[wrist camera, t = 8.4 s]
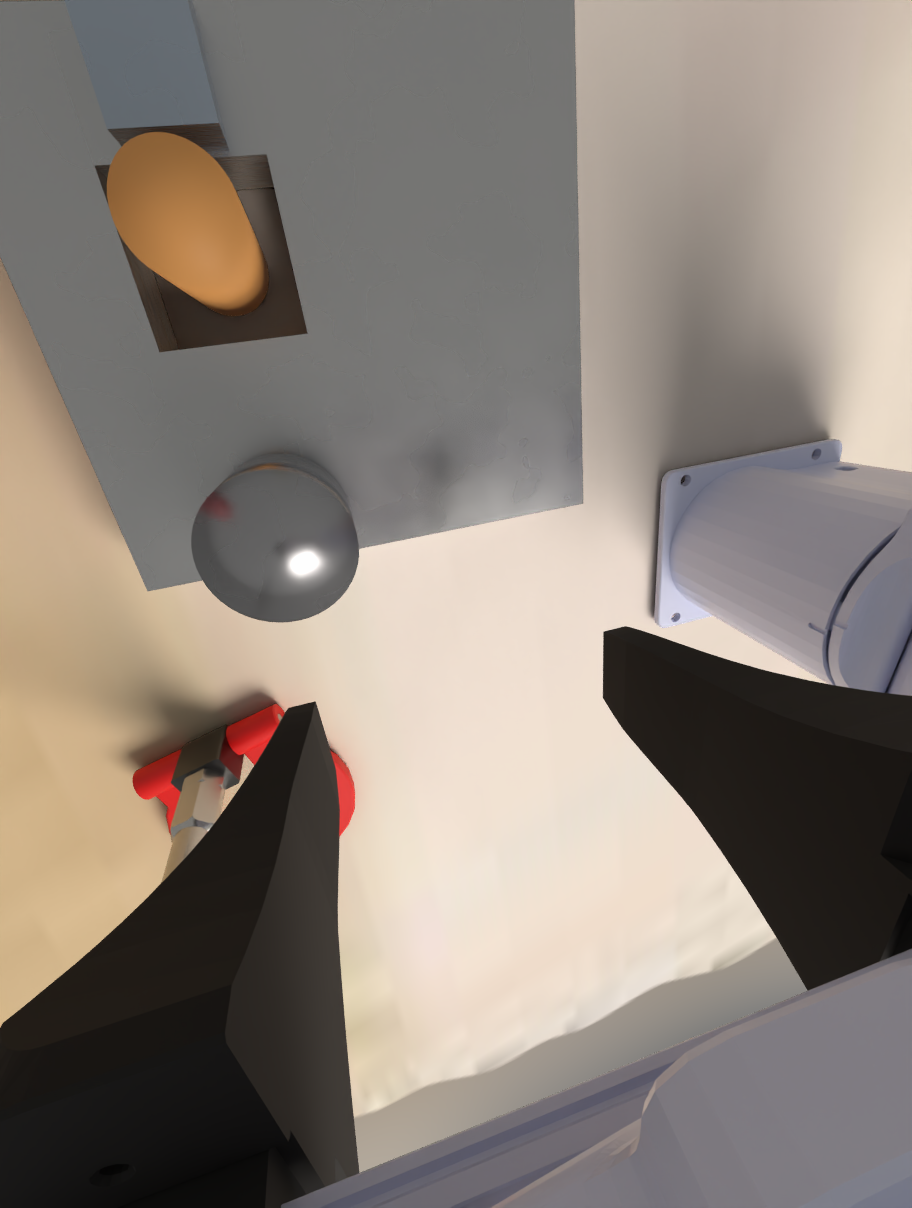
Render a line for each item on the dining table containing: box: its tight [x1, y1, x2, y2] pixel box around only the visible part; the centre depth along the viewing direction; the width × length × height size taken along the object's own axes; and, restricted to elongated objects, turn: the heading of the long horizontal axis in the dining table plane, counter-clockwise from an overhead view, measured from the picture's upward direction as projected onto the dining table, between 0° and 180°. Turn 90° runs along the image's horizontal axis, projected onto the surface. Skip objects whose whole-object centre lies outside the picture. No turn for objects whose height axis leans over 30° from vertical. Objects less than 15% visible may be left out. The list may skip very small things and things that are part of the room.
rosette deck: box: [0, 0, 583, 622], centre depth 15 cm, size 16×15×6 cm
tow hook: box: [133, 704, 355, 883], centre depth 19 cm, size 8×13×9 cm
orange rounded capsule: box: [107, 132, 269, 316], centre depth 13 cm, size 3×3×6 cm
